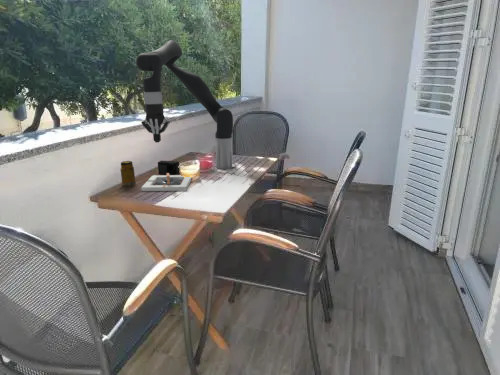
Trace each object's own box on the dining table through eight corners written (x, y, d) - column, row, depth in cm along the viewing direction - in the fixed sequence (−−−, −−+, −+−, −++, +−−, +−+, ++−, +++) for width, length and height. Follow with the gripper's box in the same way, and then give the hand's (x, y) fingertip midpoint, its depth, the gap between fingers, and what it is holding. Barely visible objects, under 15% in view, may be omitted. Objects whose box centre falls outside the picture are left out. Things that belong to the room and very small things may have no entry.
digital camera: (157, 175, 188) (156, 162, 186) (162, 172, 193) (161, 160, 191) (175, 176, 186) (174, 163, 184) (179, 173, 191) (178, 161, 189)
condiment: (124, 184, 173) (122, 160, 169) (142, 184, 173) (139, 160, 169) (119, 188, 166) (116, 163, 162) (137, 188, 166) (134, 163, 162)
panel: (192, 179, 179) (192, 174, 178) (186, 192, 160) (185, 186, 159) (152, 180, 179) (152, 175, 178) (142, 192, 160) (141, 186, 159)
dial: (156, 182, 173) (155, 170, 171) (179, 180, 176) (178, 168, 174) (156, 189, 162) (155, 176, 160) (181, 187, 164) (180, 175, 162)
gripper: (135, 103, 151) (140, 143, 156) (164, 103, 149) (168, 144, 154) (143, 102, 158) (147, 140, 163) (171, 101, 156) (174, 140, 161)
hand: (157, 142), depth 158 cm, fingers closed
